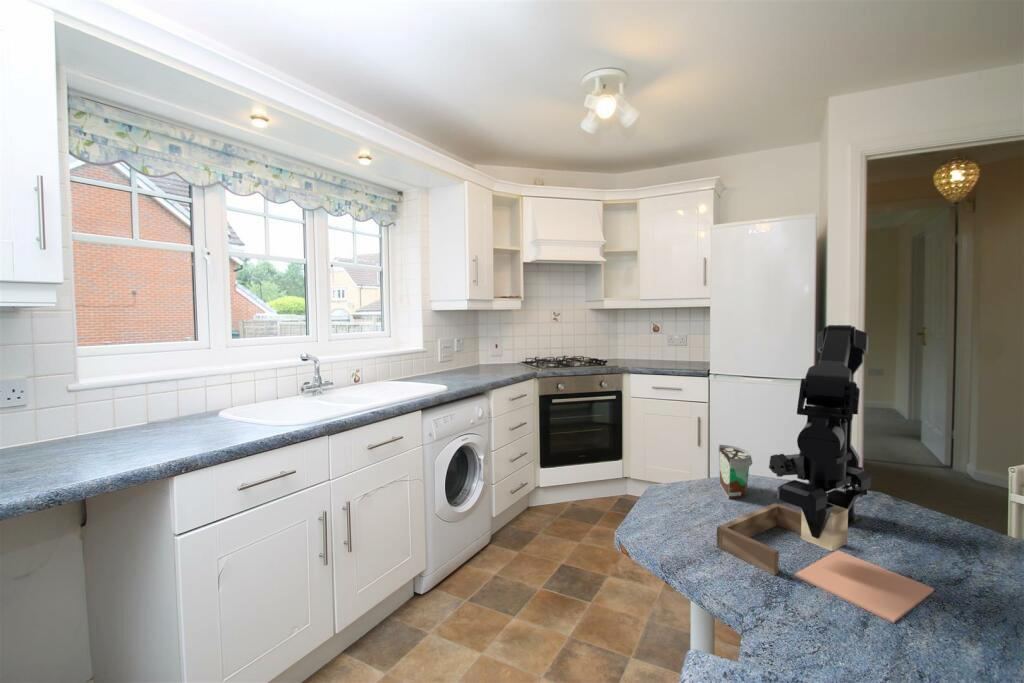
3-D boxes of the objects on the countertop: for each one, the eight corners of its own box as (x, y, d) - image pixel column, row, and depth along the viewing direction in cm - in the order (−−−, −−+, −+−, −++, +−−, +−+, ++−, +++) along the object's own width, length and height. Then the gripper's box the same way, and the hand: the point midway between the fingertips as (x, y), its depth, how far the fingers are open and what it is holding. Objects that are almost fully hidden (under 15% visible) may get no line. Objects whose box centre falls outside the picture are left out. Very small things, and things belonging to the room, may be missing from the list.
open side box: (775, 521, 100) (775, 502, 100) (833, 543, 90) (833, 523, 90) (716, 547, 90) (716, 526, 90) (774, 575, 81) (774, 552, 80)
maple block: (816, 531, 86) (817, 499, 85) (847, 542, 82) (848, 509, 81) (800, 538, 83) (801, 505, 83) (831, 551, 79) (832, 516, 79)
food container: (758, 503, 109) (759, 460, 108) (730, 501, 110) (730, 459, 109) (744, 483, 121) (744, 444, 120) (718, 481, 122) (718, 444, 121)
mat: (837, 552, 87) (837, 550, 87) (933, 590, 75) (934, 588, 75) (794, 576, 80) (794, 573, 80) (893, 622, 68) (893, 620, 68)
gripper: (807, 427, 93) (806, 504, 94) (748, 443, 83) (747, 528, 85) (873, 440, 83) (870, 526, 84) (815, 461, 74) (812, 556, 75)
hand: (824, 533), depth 82 cm, fingers closed on maple block, 5 cm apart
